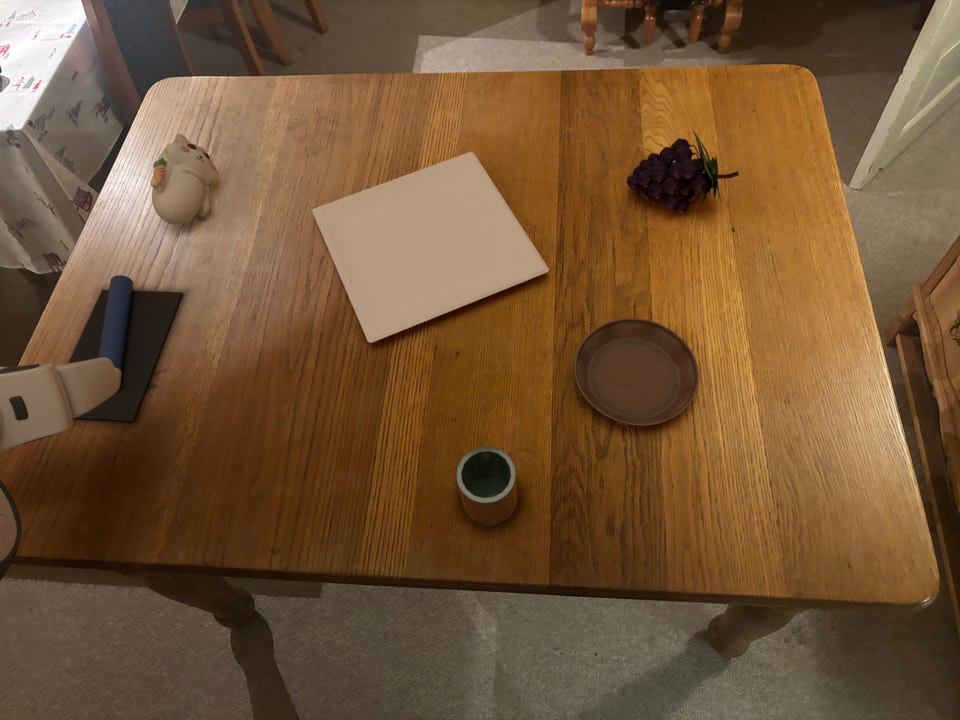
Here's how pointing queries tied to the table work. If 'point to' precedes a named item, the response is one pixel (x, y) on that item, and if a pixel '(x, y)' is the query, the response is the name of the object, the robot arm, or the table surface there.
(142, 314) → the mat
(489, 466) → the pen pot
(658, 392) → the saucer
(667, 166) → the fruit
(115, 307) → the marker
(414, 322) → the beige flat square slab
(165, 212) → the cat figurine
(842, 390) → the table surface
